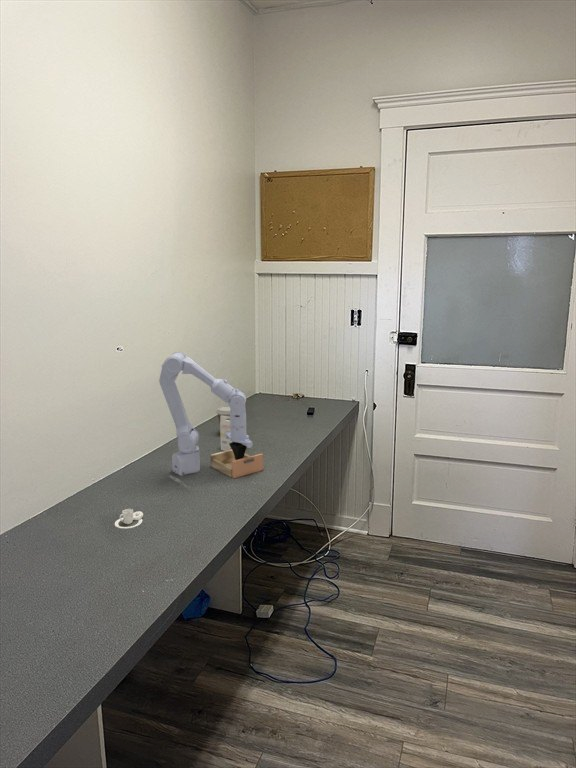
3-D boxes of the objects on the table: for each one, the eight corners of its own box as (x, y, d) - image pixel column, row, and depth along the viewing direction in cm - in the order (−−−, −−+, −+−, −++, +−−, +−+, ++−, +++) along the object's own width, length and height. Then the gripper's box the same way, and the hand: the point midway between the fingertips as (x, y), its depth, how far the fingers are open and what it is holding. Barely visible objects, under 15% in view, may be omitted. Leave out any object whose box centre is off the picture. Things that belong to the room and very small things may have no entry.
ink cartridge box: (244, 449, 229) (243, 414, 226) (238, 453, 225) (237, 418, 222) (227, 446, 233) (226, 412, 230) (220, 450, 229) (219, 415, 226)
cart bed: (231, 481, 196) (231, 465, 195) (210, 470, 207) (210, 454, 206) (261, 472, 204) (261, 457, 203) (240, 462, 215) (239, 447, 214)
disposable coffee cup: (216, 437, 245) (215, 411, 242) (218, 431, 254) (217, 405, 252) (238, 437, 245) (237, 410, 243) (239, 430, 254) (238, 405, 252)
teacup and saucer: (141, 514, 172) (140, 502, 171) (148, 525, 165) (147, 512, 164) (112, 521, 168) (111, 508, 167) (117, 532, 161) (116, 519, 160)
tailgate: (234, 478, 195) (234, 462, 193) (232, 477, 196) (231, 461, 195) (264, 470, 202) (264, 454, 201) (261, 469, 204) (261, 453, 202)
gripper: (259, 427, 197) (260, 464, 200) (236, 419, 208) (237, 454, 211) (242, 431, 193) (243, 469, 196) (220, 422, 204) (221, 458, 207)
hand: (239, 461), depth 203 cm, fingers closed
